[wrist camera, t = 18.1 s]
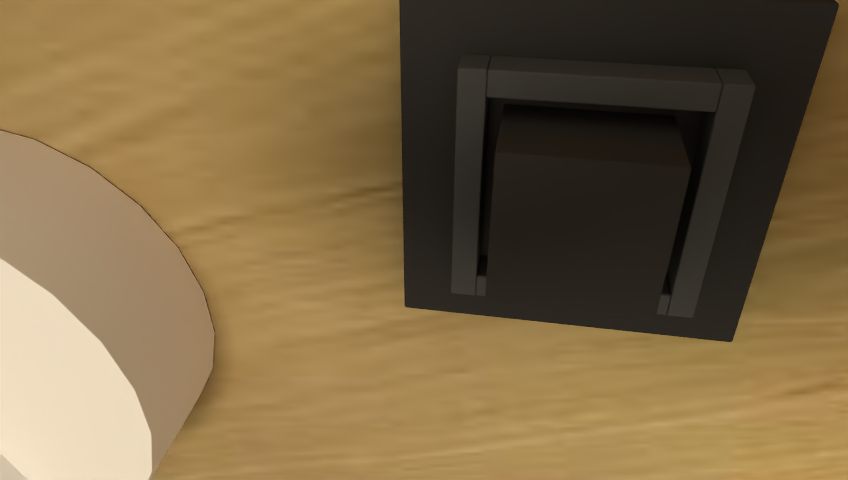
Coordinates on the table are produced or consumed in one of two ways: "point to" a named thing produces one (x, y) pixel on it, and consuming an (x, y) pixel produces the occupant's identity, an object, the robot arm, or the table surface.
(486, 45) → the base pad
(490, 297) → the black block
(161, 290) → the container
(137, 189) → the table surface
